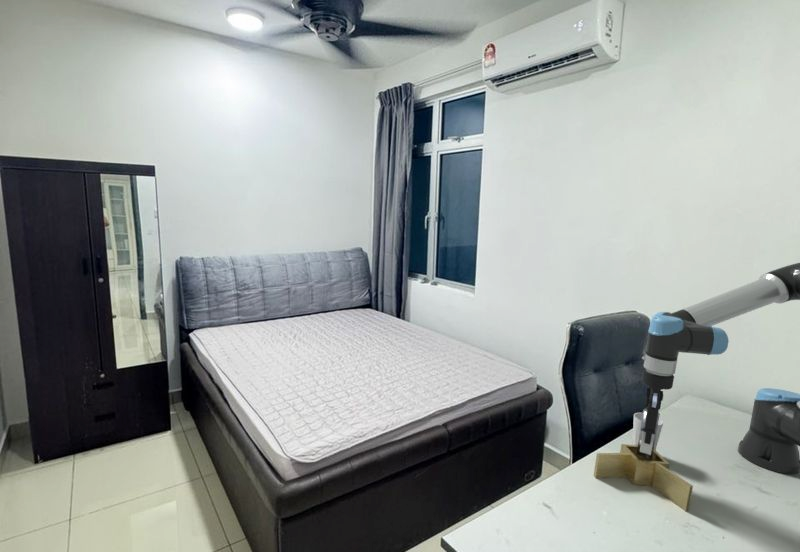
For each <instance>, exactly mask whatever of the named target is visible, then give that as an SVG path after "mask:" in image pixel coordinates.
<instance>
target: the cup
mask: <svg viewBox="0 0 800 552" xmlns="http://www.w3.org/2000/svg"><path fill="white" fill-rule="evenodd" d="M642 415H643V412H635V413H634V414H633V423H632V424H633V426H632V427H633V429H632V441H631V443H632V444H631V445H638V439H639V433H640V427H641V421H642ZM663 426H664V421H663V420H662V419H660V418H659V421H658V427H657V433H656V439H655V445H654V449H655V450H656V449H657V446H658V444H659V439H660V435H661V433H662V428H663ZM656 451H657V450H656Z"/></svg>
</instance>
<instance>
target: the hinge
mask: <svg viewBox="0 0 800 552" xmlns="http://www.w3.org/2000/svg"><path fill="white" fill-rule="evenodd" d="M636 451H637V445H632V444H624V443H623V444H621V445H620V451H619V452H601V453H600V452H599V453H596V456H595V464H594V471H593V477H594V478H595V479H607V478H606V477H615V478H627V479H628V480H629V481H630V482H631V483H632V484H633V485H634V486H648V487H651V488H653V489H654V490H656V491H657V492H658V493H660V494H662V496H664V497H665V498H667V499H669V500H670V501H671V502H672V503H673V504H675V505H676V506H677V507H679V508H680V509H682V510H683V511H684V512H687V511H689V509H690V503H691V500H692V494H693V488H694V485H693V484H691V483H689V482H688V481H686V480H685V479H683V478H682V477H680V476H679V475H677V474H676V473H675V472H673V471H671V470H670V469H669V468H670V463H669V462H668V461H667V460H666V459H665V458H664V457H663V456H662V455H661V454H660V453H659V452H658V451H657V450H655V449H654V451H653V457H652V458H650V459H648V458H643V457H641V456H639V455H638V454H637V453H636ZM603 477H604V478H603Z"/></svg>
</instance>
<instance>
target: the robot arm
mask: <svg viewBox="0 0 800 552" xmlns="http://www.w3.org/2000/svg"><path fill="white" fill-rule="evenodd" d="M790 301H800V262H797V263H792V264H788V265H785V266H783V267H782V266H781V267H779V268H776V269H773V270H770V271H769V272H768V271H767V272H766V273H763V274H761V275H760V276H759V278H758V279H757V280H755V281H752V282H750V283H747V284H744V285H742V286H739V287H737V288H734V289H731V290H728V291H726V292H724V293H722V294H719V295H716V296H713V297H710V298H708V299H706V300H702V301H700V302H698V303H695V304H693V305H689V306H687V307H684V308H682V309H680V310H677V311H674V312H669V311H659V312H656V313H655V314H654V315H652V318H651V320H650V324H649V328H648V334H647V342H646V347H645V355H643V356H642V357H641V359H642V360H643V361H644V362H643V369H642V371H641V378H640V380H641V382H642V383H643V384H644V385H646V386H648V387H646V393H645V395H646V397H645V398H646V399H645V406H646V407H645V409H647V414H646V421H645V427H644V428H641V431H643V434H642V440H641V447H640V452H642V453H646V454H649V455H651V451H652V445H653V439H654V434H655V429H656V423H657V417H658V412H659V411H660V410H661V404H662V401H663V400H664V391H663V390H671V389H672V388H673V385H674V380H675V376H674V375H675V374H676V371H677V364H678V357H679V353H683V354H686V353H687V354H697V355H707V356H710V355H722V354H723V353H725V352H726V351H727V349H728V348H729V347H728V345H729V341H730V340H729V337H728V333H727V332H726V331H725V330H724V329H722V328H720V327H715V326H714V325H718V324H721V323H724V322H725V321H726V322H727V321H729V320H731V319H735V318H737V317H739V316H741V315H744V314H747V313H751V312H752V311H755V310H758V309H760V308H763V307H766V306H770V305H771V304H774V303H775V304H778V305H779V304H784V303H786V302H790ZM799 447H800V393H797V392H793V391H790V390H784V389H777V388H770V387H769V388H768V387H765V388H764V387H763V388H760V389H759V390H757V392H756V396H755V398H754V402H753V408H752V412H751V419H750V425H749V429H748V430H747V432H746V433H745V435H744V437H743V439H742V440H740V441H739V443H738V446H737V451H738V452H737V453H739V455H741V456H742V457H743V458H744V459H746V460H747V461H749V462H750V463H753V464H755V465H757V466H758V467H760V468H764V469H767V470H770V471H773V472H777V473H779V474H780V473H781V474H789V475H794V474H795V475H796V474H799V473H800V451H799Z"/></svg>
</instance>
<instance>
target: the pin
mask: <svg viewBox="0 0 800 552" xmlns="http://www.w3.org/2000/svg"><path fill="white" fill-rule="evenodd" d="M642 413H643V415H642V421H641V427H640V433H639V439H638V445H637V451H636V453H637V454H638V455H639V456H641V457H643V458H648V459H650V458H652V457H653V451H654V445H655V439H656V433H657V427H658V421H659V419H660V414H661V413H660V412H659V411H658V417H657V423H656V429H655V434H654V439H653V445H652V451H651V455H649V454H646V453H642V452H640V447H641V440H642V434H643V431H641V428H644V427H645V421H646V414H647V409H646V408H643V410H642Z"/></svg>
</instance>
